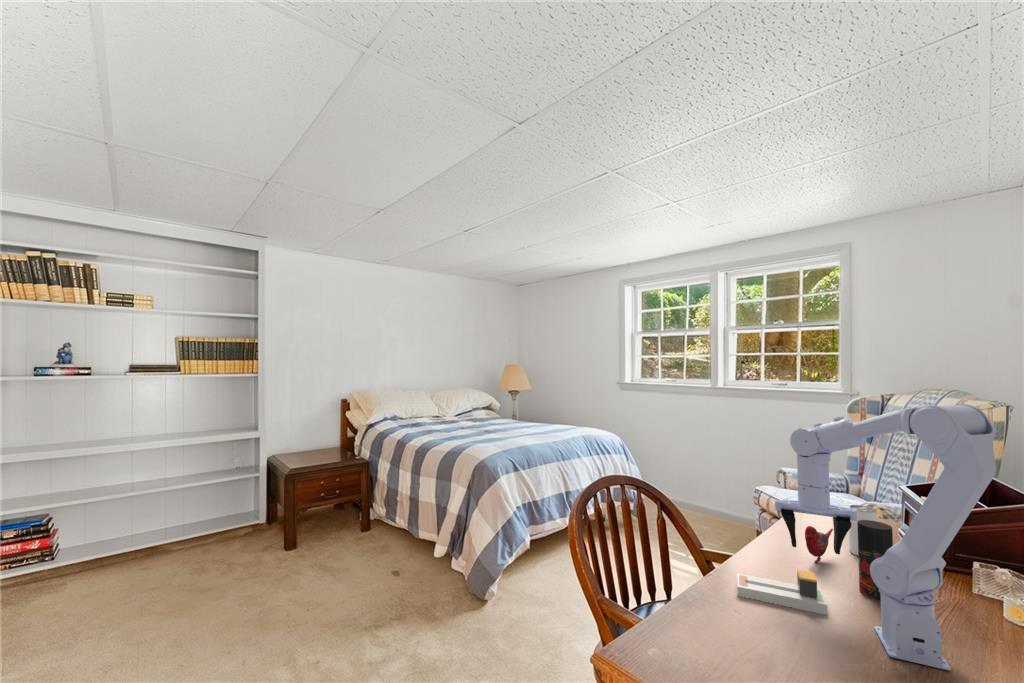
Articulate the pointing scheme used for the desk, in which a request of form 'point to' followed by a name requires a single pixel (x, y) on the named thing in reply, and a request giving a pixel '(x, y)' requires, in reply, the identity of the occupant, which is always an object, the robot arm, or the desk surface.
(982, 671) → the desk surface
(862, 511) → the can
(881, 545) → the deodorant
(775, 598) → the box
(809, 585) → the handle
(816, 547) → the decorative bird figurine
